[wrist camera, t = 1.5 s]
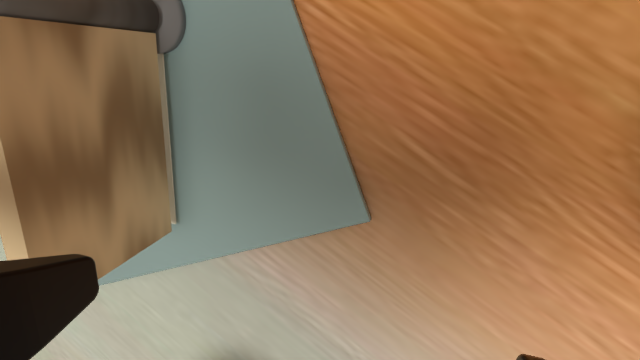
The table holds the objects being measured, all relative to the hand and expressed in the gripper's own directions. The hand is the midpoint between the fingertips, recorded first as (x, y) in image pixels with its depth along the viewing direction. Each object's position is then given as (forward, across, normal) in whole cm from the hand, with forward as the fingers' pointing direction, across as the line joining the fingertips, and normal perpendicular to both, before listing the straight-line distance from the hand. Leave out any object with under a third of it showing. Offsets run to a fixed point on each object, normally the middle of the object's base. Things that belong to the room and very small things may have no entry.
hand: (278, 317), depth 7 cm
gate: (+11, -12, +1) cm, 16 cm away
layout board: (+12, -13, 0) cm, 18 cm away
